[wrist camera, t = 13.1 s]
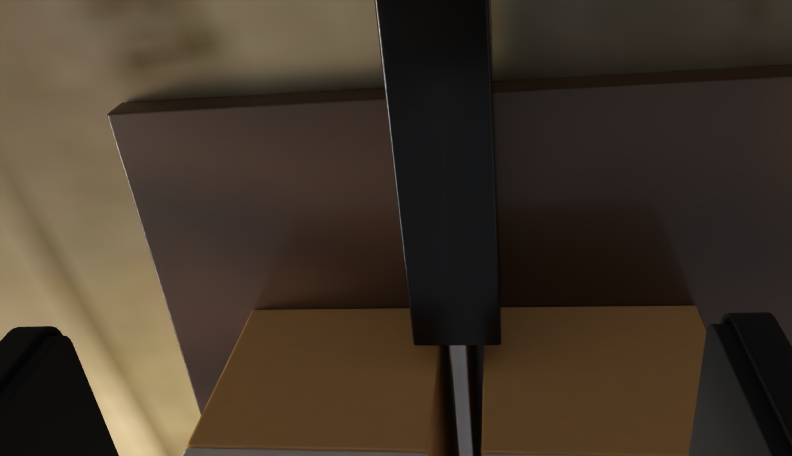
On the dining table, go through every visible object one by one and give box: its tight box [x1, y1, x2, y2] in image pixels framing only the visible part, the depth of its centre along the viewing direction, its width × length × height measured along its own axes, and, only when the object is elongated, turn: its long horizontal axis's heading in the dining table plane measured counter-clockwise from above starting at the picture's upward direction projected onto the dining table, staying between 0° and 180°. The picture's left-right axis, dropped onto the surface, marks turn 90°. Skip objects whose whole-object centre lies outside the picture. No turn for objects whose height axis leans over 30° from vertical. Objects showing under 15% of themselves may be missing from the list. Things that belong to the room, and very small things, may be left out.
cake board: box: [108, 65, 792, 456], centre depth 25 cm, size 22×20×1 cm
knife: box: [375, 0, 502, 456], centre depth 22 cm, size 24×2×3 cm, turn 6°
